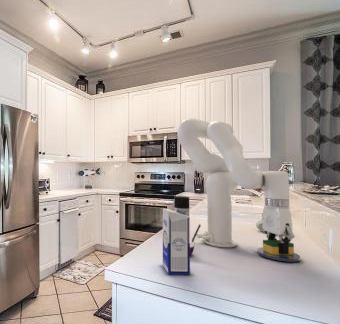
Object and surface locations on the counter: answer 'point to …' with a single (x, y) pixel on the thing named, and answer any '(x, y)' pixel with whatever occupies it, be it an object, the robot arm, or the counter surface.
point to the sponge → (276, 247)
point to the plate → (279, 256)
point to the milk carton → (176, 242)
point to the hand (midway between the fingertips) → (277, 250)
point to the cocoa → (193, 241)
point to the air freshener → (260, 225)
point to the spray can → (182, 204)
